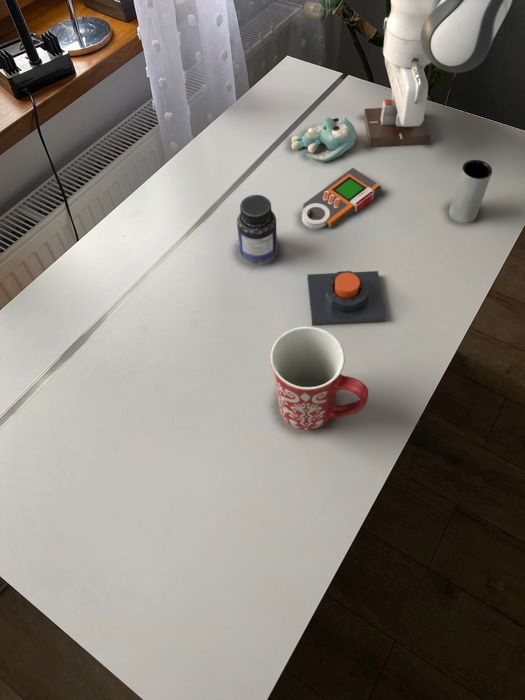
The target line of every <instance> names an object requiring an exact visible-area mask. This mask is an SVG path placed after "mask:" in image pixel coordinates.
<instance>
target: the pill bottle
mask: <svg viewBox="0 0 525 700" xmlns="http://www.w3.org/2000/svg"><path fill="white" fill-rule="evenodd" d="M239 210H240V211H239V212H240V213H238V216H237V219H236V227H237V235H238V236H237V238H238V248H239V255H240V258H241V259H242V260H243V261H244V262H246V263H247V264H250V265H253V266H261V265H266V264H268V263H270V262H271V261H273V260H274V259H275V257H276V256H277V253H278V241H277V240H278V239H277V238H278V237H277V236H278V235H277V232H278V231H277V217H276V215H275V213H274V211H272V203H271V201H270V199H269V198H267V197H266V196H264V195H261V194H251V195H248V196H246V197H244V198H243V199H242V200H241V202H240V203H239Z"/></svg>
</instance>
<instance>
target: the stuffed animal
mask: <svg viewBox="0 0 525 700" xmlns="http://www.w3.org/2000/svg"><path fill="white" fill-rule="evenodd" d="M356 139H357V130H356V128H355V126H354V125H353V124H352V122H351V121H349V120H348V118H347V117H333V118H331V117H330V116H325V117H323V122H321V123H318V124H315V125H313V126H312V127H309V128H308V129H307V130H306V132H305V133H304V134H303V135H294V136H292V137H291V149H292V150H293V151H297V150H300V149H302V148H304V147H305V148H307V151H308V152H307V153H306V154H305V156H306V157H307V158H308V159H311V160H313V161H316V162H322V163H326V162H330V161H332V160H334V159H336V158H338V157H341V156H342V155H343V154H344V153H345V152H346V151H350V150H351V148H352V147H353V146H354V144H355V142H356ZM320 144H323V145H325V147H326V148H327V149H328V150H324V151H322V152H318V153H315V152H316V150H317V149H318V147H319V146H320Z"/></svg>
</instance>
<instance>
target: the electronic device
mask: <svg viewBox="0 0 525 700" xmlns="http://www.w3.org/2000/svg"><path fill="white" fill-rule="evenodd" d="M381 189H382V186H381V184H379V183H378V182H376V181H374V180H373V179H372V178H370V177H369V176H367V175H365V174H363V173H362V172H361V171H359V170H358V169H356V168H354V167H351V168H350V169H349V170H347V171H346V172H345V173H343V174H342V175H341V176H339V177H337V179H335V180H333V181H332V182H331V183H330V184H328V185H327V186H326V187H324V188H323V189H322V190H320V191H319V192H318V193H317V194H315V195H313V197H311V198H309V199H308V200H307V201H305V202H304V203H303V204H302V212H301V220H302V223H303V225H305V226H306V227H307V228H311V229H316V230H317V229H322V228H324V227H327V228H329V229H330V230H332V229H333V228H334V227H336V226H338V225H339V224H340V223H342V222H343V221H344V220H345V219H347V218H349V217H350V216H351V215H352V214H354V213H357V212H358V211H360V209H362V208H363V207H365V206H366V205H368V203H369V204H370V202H372V201H373V199H374V198H376V197H377V196H379V195H380V194H381ZM309 215H311V216H312V217H313V218H315V219H312V218H310V217H309Z"/></svg>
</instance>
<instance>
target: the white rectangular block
mask: <svg viewBox="0 0 525 700" xmlns="http://www.w3.org/2000/svg"><path fill="white" fill-rule="evenodd" d="M381 108H382V113H381V123H382V125H394V124H396V122H395V118H396V113H398V111H397V108H396V104H395V100H392V99H390V98H389V99H384V100H383V101H382V107H381Z"/></svg>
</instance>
